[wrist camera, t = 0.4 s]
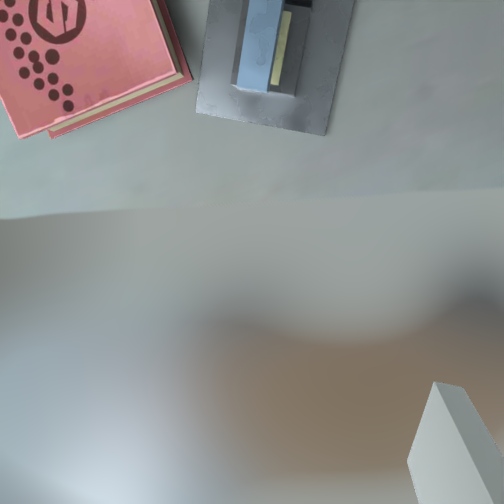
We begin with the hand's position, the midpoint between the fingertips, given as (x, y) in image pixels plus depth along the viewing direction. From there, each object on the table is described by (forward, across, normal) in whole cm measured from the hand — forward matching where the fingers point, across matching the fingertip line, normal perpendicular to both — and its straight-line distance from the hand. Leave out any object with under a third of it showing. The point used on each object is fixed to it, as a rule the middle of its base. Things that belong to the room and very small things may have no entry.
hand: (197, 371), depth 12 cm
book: (+27, -19, +13) cm, 35 cm away
